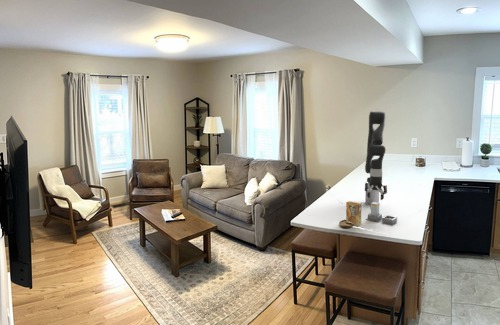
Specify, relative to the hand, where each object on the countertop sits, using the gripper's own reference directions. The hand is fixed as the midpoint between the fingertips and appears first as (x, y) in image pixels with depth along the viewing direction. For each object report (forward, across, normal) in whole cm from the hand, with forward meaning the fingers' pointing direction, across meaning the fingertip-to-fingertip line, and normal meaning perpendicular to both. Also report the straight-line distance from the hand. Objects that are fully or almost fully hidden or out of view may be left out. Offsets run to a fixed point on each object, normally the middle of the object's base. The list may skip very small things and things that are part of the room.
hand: (375, 198), depth 231 cm
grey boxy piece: (+15, +5, 0) cm, 16 cm away
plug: (+14, 0, 0) cm, 14 cm away
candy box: (+15, -7, -17) cm, 24 cm away
